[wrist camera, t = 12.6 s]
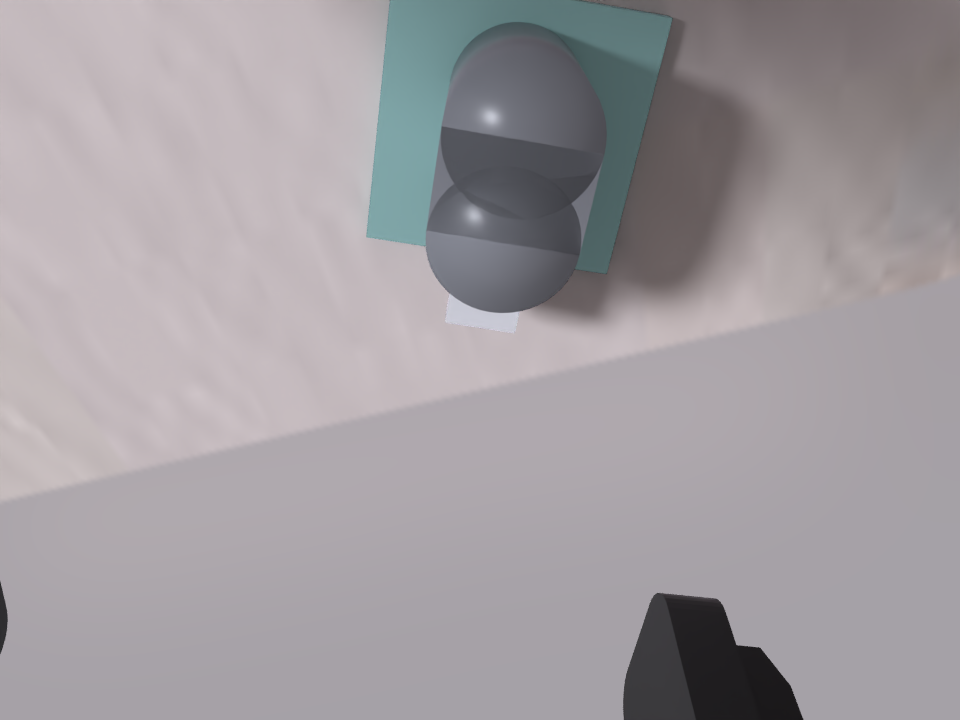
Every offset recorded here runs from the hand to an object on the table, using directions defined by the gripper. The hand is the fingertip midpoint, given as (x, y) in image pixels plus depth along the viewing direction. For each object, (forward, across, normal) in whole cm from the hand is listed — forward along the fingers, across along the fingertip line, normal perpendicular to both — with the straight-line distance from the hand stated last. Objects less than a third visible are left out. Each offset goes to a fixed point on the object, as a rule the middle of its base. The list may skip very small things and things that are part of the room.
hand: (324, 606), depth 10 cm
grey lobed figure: (+21, -3, 0) cm, 21 cm away
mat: (+22, -3, 0) cm, 22 cm away
